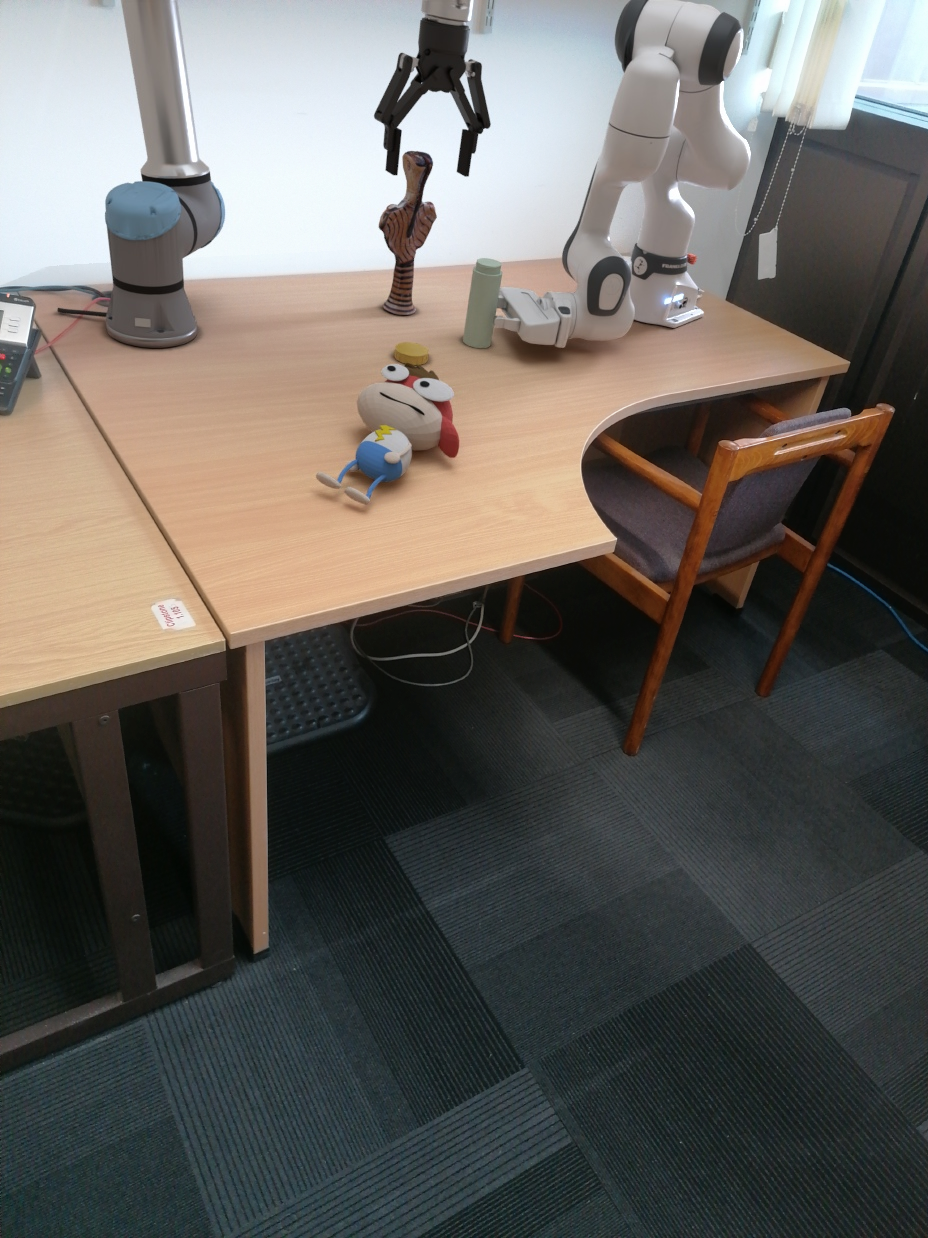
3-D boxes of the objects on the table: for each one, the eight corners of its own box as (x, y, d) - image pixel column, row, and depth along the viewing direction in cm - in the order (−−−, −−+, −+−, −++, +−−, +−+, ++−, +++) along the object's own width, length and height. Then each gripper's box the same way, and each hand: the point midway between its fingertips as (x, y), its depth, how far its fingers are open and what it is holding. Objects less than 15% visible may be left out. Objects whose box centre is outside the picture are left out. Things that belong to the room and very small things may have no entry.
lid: (435, 361, 166) (436, 352, 165) (409, 367, 162) (410, 358, 161) (412, 348, 169) (413, 339, 168) (386, 354, 165) (387, 345, 164)
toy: (278, 428, 121) (396, 343, 140) (277, 485, 128) (389, 398, 148) (391, 486, 117) (497, 391, 136) (384, 542, 124) (485, 444, 143)
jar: (457, 337, 176) (469, 257, 167) (481, 335, 179) (494, 256, 169) (471, 349, 173) (483, 267, 163) (495, 347, 175) (509, 266, 166)
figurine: (408, 296, 190) (424, 141, 171) (437, 307, 187) (456, 151, 168) (363, 310, 180) (375, 147, 161) (392, 322, 177) (407, 158, 158)
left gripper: (383, 15, 124) (370, 179, 137) (527, 32, 136) (502, 180, 150) (359, 6, 129) (349, 165, 142) (500, 23, 141) (478, 168, 154)
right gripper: (541, 280, 182) (476, 276, 178) (573, 319, 167) (504, 315, 163) (535, 310, 186) (472, 307, 182) (566, 351, 171) (498, 348, 167)
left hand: (427, 173), depth 146 cm, fingers open, 13 cm apart
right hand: (487, 311), depth 172 cm, fingers open, 8 cm apart
